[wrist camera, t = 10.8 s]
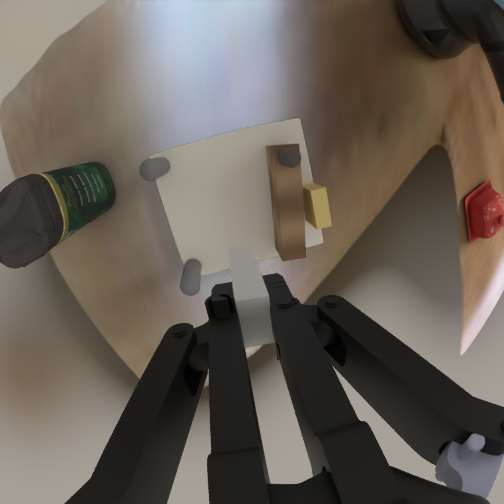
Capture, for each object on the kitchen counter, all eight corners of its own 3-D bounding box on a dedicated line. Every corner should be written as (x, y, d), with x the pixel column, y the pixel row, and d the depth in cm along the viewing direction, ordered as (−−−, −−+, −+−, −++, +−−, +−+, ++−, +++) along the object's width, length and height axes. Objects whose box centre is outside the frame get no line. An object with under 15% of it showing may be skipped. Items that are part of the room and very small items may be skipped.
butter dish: (466, 243, 46) (492, 258, 38) (459, 197, 42) (490, 207, 34) (491, 220, 45) (516, 232, 37) (486, 176, 41) (514, 184, 33)
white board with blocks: (296, 118, 34) (315, 112, 27) (319, 239, 40) (340, 258, 34) (151, 155, 33) (135, 157, 26) (190, 275, 40) (185, 301, 33)
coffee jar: (104, 152, 32) (22, 163, 15) (123, 203, 35) (57, 252, 18) (54, 182, 32) (-30, 214, 15) (73, 229, 35) (0, 285, 18)
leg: (265, 145, 33) (276, 145, 27) (288, 144, 33) (303, 143, 27) (275, 248, 38) (286, 266, 32) (296, 245, 38) (310, 262, 33)
